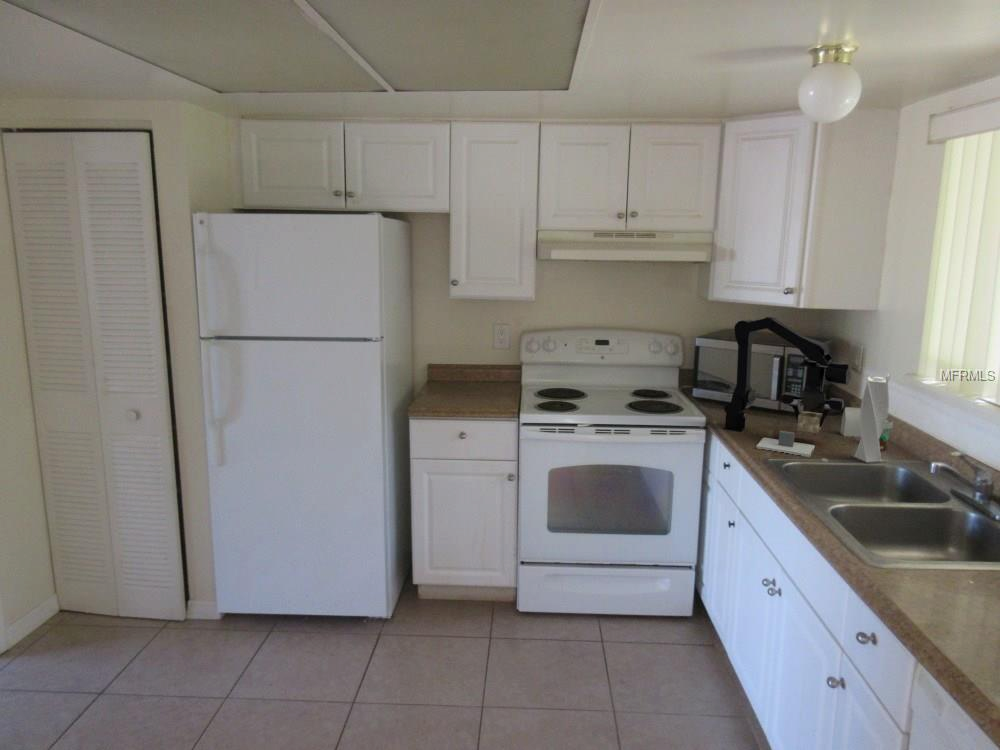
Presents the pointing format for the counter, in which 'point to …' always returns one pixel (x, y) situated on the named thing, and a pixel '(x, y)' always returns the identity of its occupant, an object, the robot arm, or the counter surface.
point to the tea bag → (851, 422)
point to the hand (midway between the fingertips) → (809, 425)
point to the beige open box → (809, 422)
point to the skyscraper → (873, 419)
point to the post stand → (786, 445)
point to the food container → (885, 434)
